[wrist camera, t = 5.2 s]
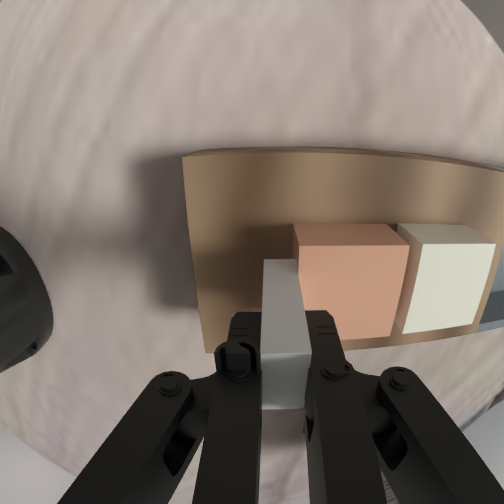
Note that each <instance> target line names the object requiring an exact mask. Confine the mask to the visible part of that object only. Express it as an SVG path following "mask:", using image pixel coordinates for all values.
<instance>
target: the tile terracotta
mask: <svg viewBox="0 0 504 504" xmlns="http://www.w3.org/2000/svg"><path fill="white" fill-rule="evenodd" d="M409 248H410V245H409V244H408V243H407V242H406V241H405V240H404V239H402V238H401V237H400V236H399V235H398V234H397V233H396V232H395V231H394V230H393V229H392V228H390V227H389V226H388V225H387V224H356V223H293V256H292V259H295V261H296V266H297V271H298V276H299V281H300V287H301V292H302V298H303V303H304V309H305V310H327V311H328V312H329V313H330V314H331V315H332V316H333V318H334V321H335V324H336V328H337V331H338V335H339V338H340V340H348V339H363V338H375V337H387V336H390V333H391V330H392V326H393V322H394V318H395V314H396V310H397V306H398V302H399V298H400V293H401V289H402V284H403V280H404V275H405V270H406V265H407V259H408V254H409Z"/></svg>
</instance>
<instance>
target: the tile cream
mask: <svg viewBox="0 0 504 504" xmlns="http://www.w3.org/2000/svg"><path fill="white" fill-rule="evenodd" d="M397 234H398V235H399V236H400V237H401V238H402V239H404V240H405V241H406V242H407V243H408V244H409V245H410V248H409V254H408V259H407V265H406V270H405V275H404V280H403V284H402V289H401V293H400V298H399V302H398V306H397V310H396V314H395V318H394V320H395V322H396V324H397V326H398V328H399V329H400V331H401V333H402V334H406V333H415V332H422V331H430V330H437V329H444V328H450V327H456V326H462V325H468V324H472V322H473V320H474V317H475V314H476V311H477V309H478V306H479V303H480V300H481V297H482V294H483V290H484V287H485V284H486V281H487V277H488V274H489V270H490V266H491V262H492V259H493V255H494V250H495V246H496V243H494V242H493V241H491V240H490V239H488V238H487V237H485V236H484V235H482V234H480V233H479V232H477V231H476V230H474V229H473V228H471V227H469V226H468V225H453V224H412V223H398V227H397Z"/></svg>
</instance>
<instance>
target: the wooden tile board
mask: <svg viewBox="0 0 504 504" xmlns="http://www.w3.org/2000/svg"><path fill="white" fill-rule="evenodd" d="M182 163H183V176H184V188H185V199H186V209H187V219H188V229H189V238H190V247H191V255H192V263H193V271H194V279H195V286H196V293H197V300H198V307H199V314H200V321H201V327H202V333H203V340H204V346H205V352H206V353H214V352H215V350H216V348H217V347H218V346H219V345H220V344H222V343H223V342H226V341H227V337H228V332H229V327H230V322H231V318H232V317H233V316H234V315H235V314H236V313H237V312H262V297H263V271H264V259H292V256H293V223H356V224H387V225H388V226H389V227H390V228H392V229H393V230H394V231H395V232H396V233H397V227H398V223H412V224H453V225H468V226H469V227H471V228H473V229H474V230H476V231H477V232H479V233H480V234H482V235H484V236H485V237H487V238H488V239H490V240H491V241H493V242H494V243H496V246H495V250H494V255H493V259H492V262H491V266H490V270H489V274H488V277H487V281H486V284H485V287H484V290H483V294H482V297H481V300H480V303H479V306H478V309H477V311H476V314H475V317H474V320H473V322H472V324H468V325H462V326H456V327H450V328H444V329H437V330H430V331H422V332H415V333H406V334H402V333H401V331H400V329H399V328H398V326H397V324H396V322H395V320H394V322H393V326H392V330H391V333H390V336H387V337H375V338H363V339H348V340H340V341H341V345H342V348H343V351H345V350H358V349H369V348H379V347H388V346H396V345H404V344H412V343H419V342H426V341H433V340H439V339H445V338H451V337H456V336H462V335H467V334H472V333H475V332H476V330H477V327H478V325H479V322H480V320H481V317H482V314H483V312H484V309H485V306H486V303H487V300H488V297H489V294H490V291H491V288H492V285H493V281H494V278H495V275H496V271H497V267H498V264H499V260H500V256H501V252H502V248H503V243H504V171H502V170H498V169H495V168H492V167H489V166H485V165H482V164H478V163H475V162H470V161H464V160H458V159H451V158H445V157H437V156H430V155H422V154H413V153H404V152H394V151H382V150H369V149H353V148H331V147H247V148H224V149H208V150H201V151H198V152H195V153H192V154H189V155H187V156H184V157H182Z"/></svg>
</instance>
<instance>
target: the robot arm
mask: <svg viewBox="0 0 504 504" xmlns="http://www.w3.org/2000/svg"><path fill="white" fill-rule="evenodd" d="M52 330H53V313H52V307H51V303H50V299H49V296H48V293H47V290H46V288H45V285H44V283H43V281H42V278H41V276H40V274H39V272H38V271H37V269H36V267H35V265H34V264H33V262H32V260H31V259H30V257H29V256H28V254H27V253H26V252H25V250H24V249H23V248H22V246H21V245H20V244H19V243H18V242H17V241H16V240H15V239H14V238H13V237H12V236H11V235H10V234H9V233H8V232H7V231H5V230H4V229H2V228H1V227H0V373H2V372H3V371H5V370H7V369H9V368H11V367H13V366H14V365H16V364H18V363H20V362H22V361H24V360H26V359H27V358H29V357H31V356H33V355H35V354H36V353H37V352H38V351H39V350H40V349H41V348H42V347H43V345H44V344H45V343H46V342H47V341H48V339H49V338H50V336H51V333H52ZM214 357H215V363H216V370H217V372H215V373H214V374H212V375H210V376H208V377H204V378H199V379H194V380H190V379H189V378H188V377H187V376H186V375H185V374H183V373H181V372H175V371H169V372H163V373H161V374H159V375H156V376H155V377H154V378H153V379H152V380H151V381H150V382H149V384H148V385H147V386H146V388H145V389H144V390H143V392H142V393H141V394H140V395H139V397H138V398H137V399H136V401H135V402H134V403H133V405H132V406H131V407H130V409H129V410H128V411H127V412H126V414H125V415H124V416H123V418H122V419H121V420H120V422H119V423H118V424H117V426H116V427H115V428H114V430H113V431H112V432H111V433H110V435H109V436H108V437H107V439H106V440H105V441H104V443H103V444H102V445H101V447H100V448H99V449H98V451H97V452H96V453H95V454H94V456H93V457H92V458H91V460H90V461H89V462H88V464H87V465H86V466H85V468H84V469H83V470H82V472H81V473H80V474H79V475H78V477H77V478H76V479H75V481H74V482H73V483H72V485H71V486H70V487H69V489H68V490H67V491H66V493H65V494H64V495H63V497H62V498H61V499H60V501H59V502H58V503H57V504H168V502H169V501H170V499H171V497H172V495H173V493H174V492H175V490H176V488H177V486H178V484H179V482H180V481H181V479H182V477H183V475H184V473H185V471H186V470H187V468H188V466H189V464H190V462H191V460H192V458H193V456H194V455H195V453H196V451H197V449H198V447H199V445H200V443H201V441H202V439H203V437H204V442H203V447H202V452H201V458H200V463H199V468H198V474H197V479H196V484H195V490H194V495H193V501H192V504H258V499H259V477H260V453H261V428H262V409H304V406H305V407H306V416H305V422H304V427H303V433H306V447H307V461H308V477H309V495H310V504H387V499H386V494H385V489H384V484H383V480H382V475H381V471H382V472H383V474H384V476H385V478H386V480H387V482H388V484H389V485H390V487H391V489H392V491H393V493H394V495H395V497H396V498H397V500H398V502H399V504H504V490H503V488H502V487H501V485H500V484H499V483H498V481H497V480H496V478H495V477H494V475H493V474H492V473H491V471H490V470H489V468H488V467H487V466H486V464H485V463H484V461H483V460H482V459H481V457H480V456H479V455H478V453H477V452H476V450H475V449H474V448H473V446H472V445H471V444H470V442H469V441H468V440H467V439H466V437H465V436H464V434H463V433H462V432H461V430H460V429H459V428H458V427H457V425H456V424H455V423H454V421H453V420H452V419H451V417H450V416H449V415H448V414H447V412H446V411H445V410H444V409H443V407H442V406H441V405H440V403H439V402H438V401H437V400H436V398H435V397H434V396H433V395H432V393H431V392H430V391H429V390H428V388H427V387H426V386H425V385H424V383H423V382H422V381H421V380H420V379H419V377H418V376H417V375H416V374H415V373H414V372H413V371H411V370H409V369H407V368H405V367H390V368H388V369H386V370H384V371H383V373H382V374H381V375H380V376H374V375H367V374H363V373H360V372H358V371H355V370H354V368H353V366H352V364H350V363H349V362H348V361H346V359H345V355H344V352H343V348H342V345H341V341H340V338H339V335H338V331H337V328H336V324H335V321H334V318H333V316H332V315H331V314H330V313H329V312H328V311H327V310H305V309H304V303H303V298H302V292H301V287H300V281H299V276H298V271H297V266H296V261H295V259H264V271H263V297H262V312H237V313H236V314H235V315H234V316H233V317H232V318H231V322H230V327H229V332H228V337H227V341H226V342H223V343H222V344H220V345H219V346H218V347H217V348H216V350H215V352H214ZM380 469H381V470H380Z"/></svg>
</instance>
